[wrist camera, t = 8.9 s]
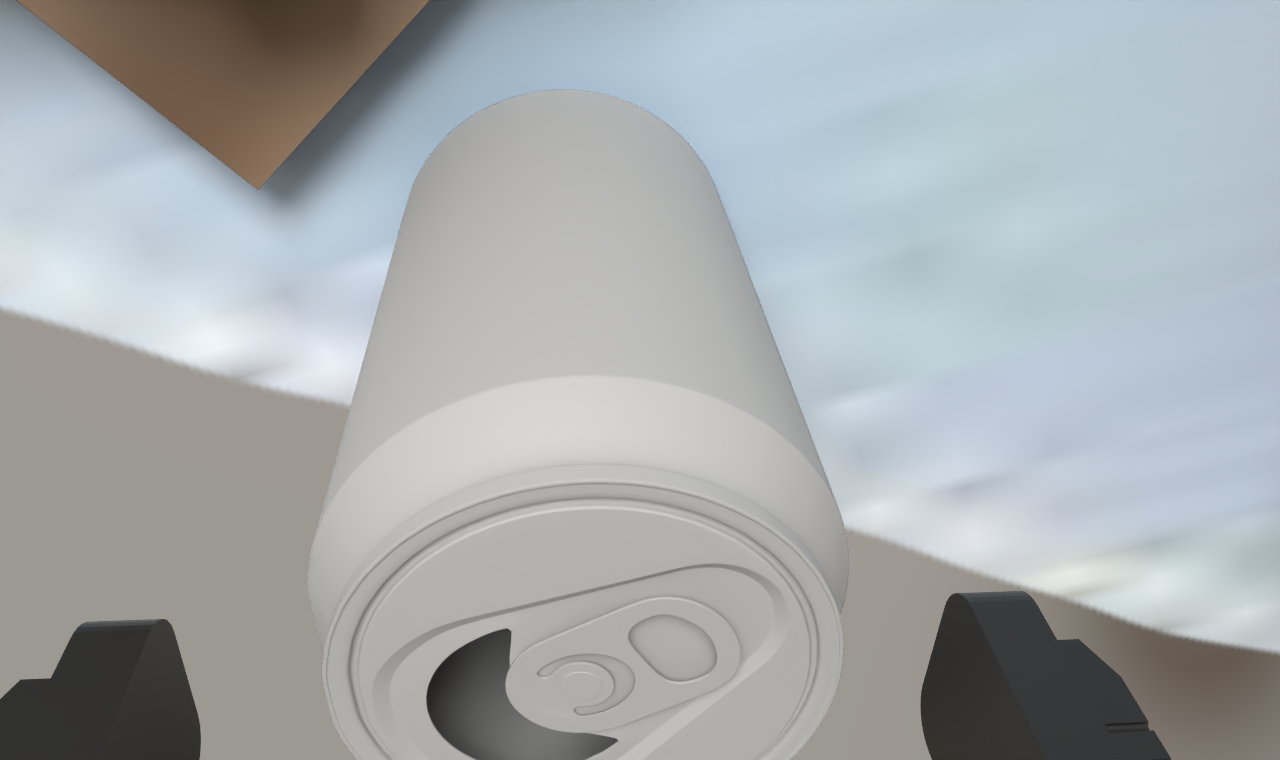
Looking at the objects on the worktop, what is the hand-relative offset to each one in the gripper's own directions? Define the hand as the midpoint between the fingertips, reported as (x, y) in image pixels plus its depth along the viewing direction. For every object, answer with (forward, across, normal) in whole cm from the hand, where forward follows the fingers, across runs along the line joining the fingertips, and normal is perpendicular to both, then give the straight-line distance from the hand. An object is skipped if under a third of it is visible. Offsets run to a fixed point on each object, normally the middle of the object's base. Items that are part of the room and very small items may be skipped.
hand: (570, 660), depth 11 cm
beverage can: (+12, 0, +1) cm, 12 cm away
